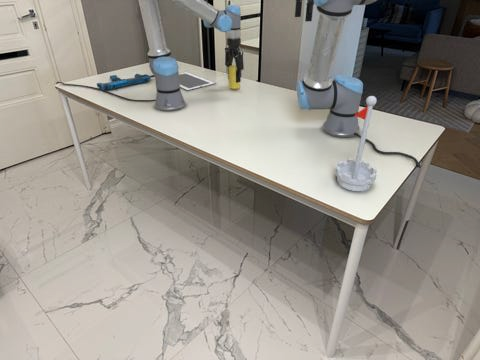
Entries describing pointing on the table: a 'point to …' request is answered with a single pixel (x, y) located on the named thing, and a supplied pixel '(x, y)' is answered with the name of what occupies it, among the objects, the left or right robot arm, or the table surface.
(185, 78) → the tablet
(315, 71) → the right robot arm
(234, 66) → the canister
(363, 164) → the flag stand
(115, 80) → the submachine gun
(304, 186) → the table surface
